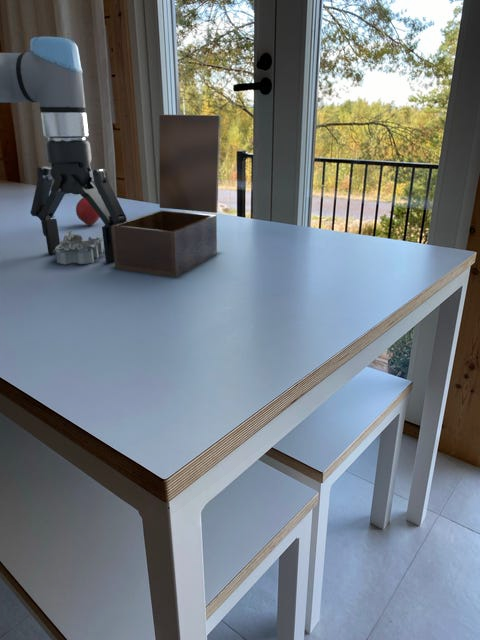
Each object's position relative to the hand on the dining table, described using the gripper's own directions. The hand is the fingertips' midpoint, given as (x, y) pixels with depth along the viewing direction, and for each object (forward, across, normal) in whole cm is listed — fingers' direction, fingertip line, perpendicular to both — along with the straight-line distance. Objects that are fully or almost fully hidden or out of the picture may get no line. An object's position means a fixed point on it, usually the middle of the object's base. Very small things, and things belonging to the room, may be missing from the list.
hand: (82, 256), depth 92 cm
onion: (0, +17, -24) cm, 30 cm away
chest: (0, -16, -5) cm, 17 cm away
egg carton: (0, 0, 0) cm, 1 cm away
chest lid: (-17, -16, -14) cm, 27 cm away
